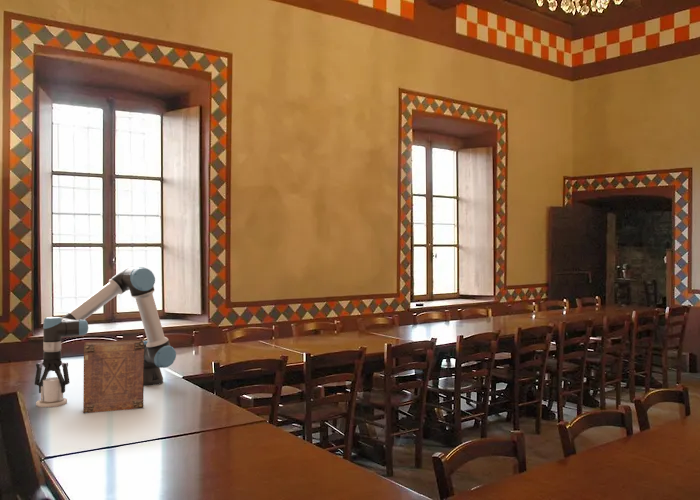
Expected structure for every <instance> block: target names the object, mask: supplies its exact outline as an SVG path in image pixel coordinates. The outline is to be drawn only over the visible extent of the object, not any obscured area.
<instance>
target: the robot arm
mask: <svg viewBox="0 0 700 500" xmlns="http://www.w3.org/2000/svg"><path fill="white" fill-rule="evenodd" d="M155 284H156V277H155V274H154V273H153V271H152V270H151V269H149V268H146V267H143V266H128V267H125V268H124V269H122V270H120V271H119V272H117V273H116V274H115V275H114V276H112V277H111V278H109V280H108V283H107V284H105V285H104V286H102V287H101V288H100V289H99V290H97V291H96V292H95V293H93V294H92V295H91V296H89V297H88V298H86V299H85V300H84V301H83V302H81V303H80V304H78V305H77V306H76V307H75V308H73V309H72V310H70V311H69V312H67V313H66V314H64V315H63V316H62V317H61V316H49V317H45V318H44V319H43V327H42V329H43V330H42V332H43V335H42V336H43V343H42V344H43V346H42V347H43V348H42V349H43V357H42V359H43V361H42V362H38V363H36V364H35V366H36V372H35V379H34V385H35V386H38V393H39V394H40V400H41V401H43V400H44V393H43V380H45V379H46V378H48V374H49V372H54V373H55V374H56V376H57V377H58V379H59V382H60V384H61V386H59V401H61V400H63V398H64V393H65V392H66V386H67V385H69V384H70V377H69V369H68V366H69V362H62V361H63V360H62V351H61V350H62V338H65V337H78V336H79V337H80V336H85V335H87V334H88V331H89V323H88V321H87V320H86V319H87V318H89V317H90V316H92V315H93V314H94V313H96V312H97V311H98V310H99V309H101V308H102V307H104V306H105V305H106V304H108V303H109V302H110V301H111V300H112V299H115V297H116V296H118V295H122V294H124V293H125V292H126V291H127V292H128V291H130V292H129V293H130V295H131V297H132V298H134V299H135V302H136V304H137V308H138V309H137V310H138V312H139V314H140V319H141V321H142V325H143V329H144V332H145V336H146V340H143V342H144V387H149V386H156V385H160V384H163V383H164V377H163V373H162V370H161V369H162V368H163V369H165V368H168V367H171V366H172V365H173V364H174V362H175V360H176V358H177V351H176V349H175V348H174V347H173V346H171V343H170V340H169V338H168V337H167V336H165V334H164V329H163V326H162V323H161V319H160V316H159V312H158V308H157V305H156V302H155V298H154V292H155ZM43 367H44V369H43ZM61 368H62V372H61ZM42 369H43V370H42ZM42 371H43V373H42ZM62 373H63V374H62ZM41 374H42V375H41Z"/></svg>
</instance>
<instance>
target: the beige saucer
mask: <svg viewBox="0 0 700 500" xmlns="http://www.w3.org/2000/svg"><path fill="white" fill-rule="evenodd" d="M35 404H36V405H35V406H36V407H38V408H42V409H43V408H57V407H61V406H65V405H67V404H68V398H65V397H63V400H61V401H55V402H45V401H44V400H43V401H41V399H39V400H37V401H36V402H35Z"/></svg>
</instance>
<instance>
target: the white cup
mask: <svg viewBox="0 0 700 500" xmlns="http://www.w3.org/2000/svg"><path fill="white" fill-rule="evenodd" d="M59 386H61V384H60V382H59V379H58V377H55V376H54V377H46V379H45V380H43V393H44V401H45V402H55V401H59Z"/></svg>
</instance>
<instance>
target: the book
mask: <svg viewBox="0 0 700 500" xmlns="http://www.w3.org/2000/svg"><path fill="white" fill-rule="evenodd" d="M143 341H144V340H143V339H129V340H127V339H126V340H123V339H122V340H106V341H105V340H103V341H100V340H98V341H84V345H83V400H82V401H83V402H82V403H83V406H82V407H83V410H82V412H83V413H84V414H91V413H92V414H93V413H102V412H114V411H128V410H138V409H144V391H145V390H144V389H145V388H144V387H145V386H144V342H143Z"/></svg>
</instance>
